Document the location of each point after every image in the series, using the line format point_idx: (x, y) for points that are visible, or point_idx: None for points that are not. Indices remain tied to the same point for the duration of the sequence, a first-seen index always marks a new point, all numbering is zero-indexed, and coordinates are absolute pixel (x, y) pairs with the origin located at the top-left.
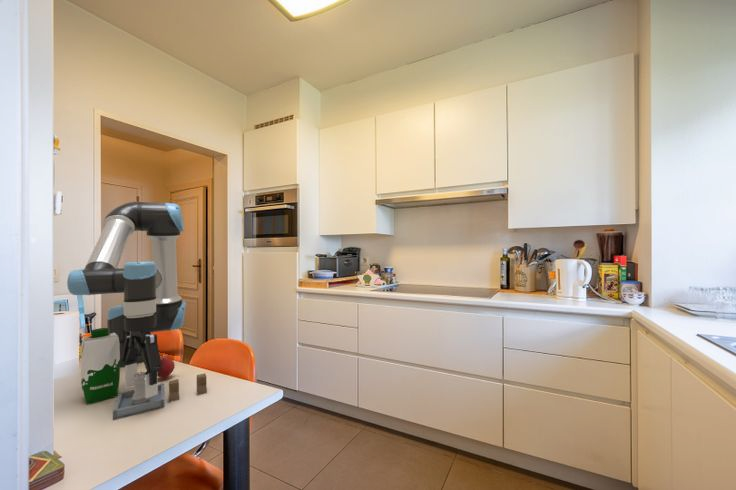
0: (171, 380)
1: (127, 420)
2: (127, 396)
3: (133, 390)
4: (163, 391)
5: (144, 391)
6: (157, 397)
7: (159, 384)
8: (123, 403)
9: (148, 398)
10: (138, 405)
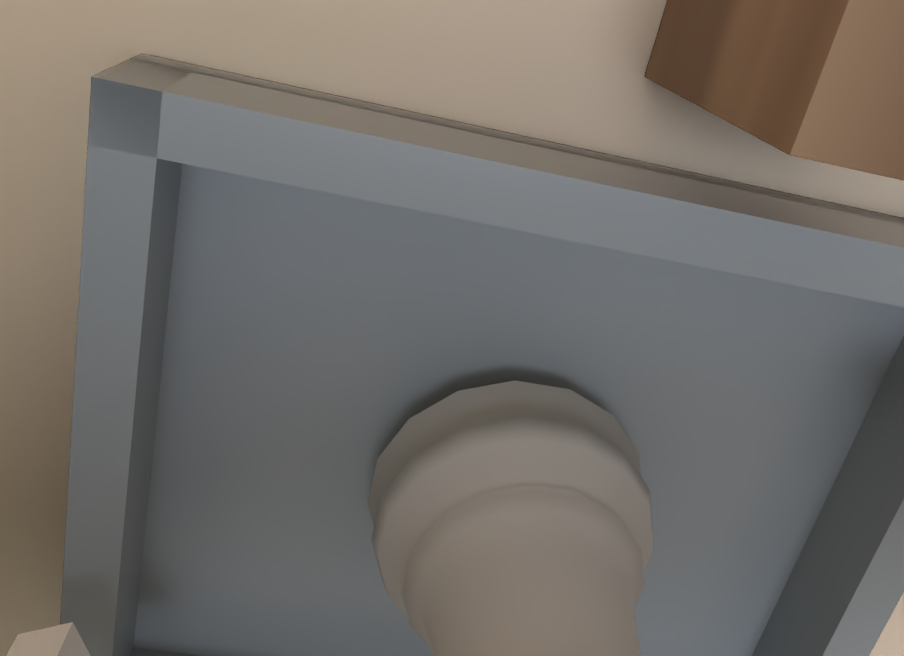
0: (826, 88)
1: (899, 622)
2: (129, 611)
3: (96, 598)
4: (650, 208)
5: (623, 567)
6: (540, 260)
7: (91, 182)
8: (352, 649)
9: (601, 422)
10: (892, 601)
